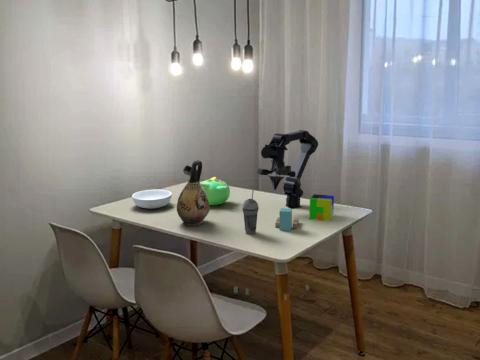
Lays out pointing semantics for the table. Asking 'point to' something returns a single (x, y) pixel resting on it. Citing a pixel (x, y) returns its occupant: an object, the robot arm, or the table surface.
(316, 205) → the puzzle toy
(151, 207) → the serving bowl
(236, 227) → the table surface
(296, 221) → the chute
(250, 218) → the beverage cup
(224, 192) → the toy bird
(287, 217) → the block
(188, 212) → the ceramic jug
